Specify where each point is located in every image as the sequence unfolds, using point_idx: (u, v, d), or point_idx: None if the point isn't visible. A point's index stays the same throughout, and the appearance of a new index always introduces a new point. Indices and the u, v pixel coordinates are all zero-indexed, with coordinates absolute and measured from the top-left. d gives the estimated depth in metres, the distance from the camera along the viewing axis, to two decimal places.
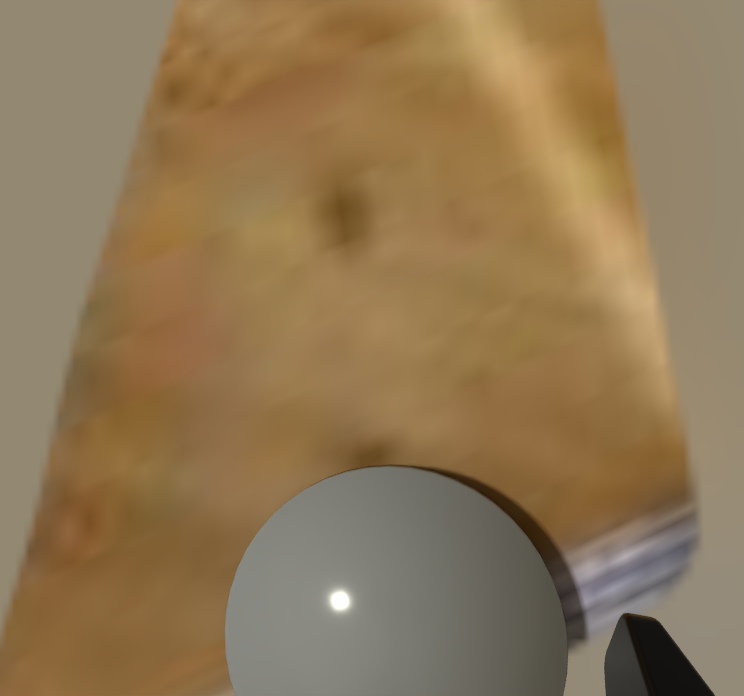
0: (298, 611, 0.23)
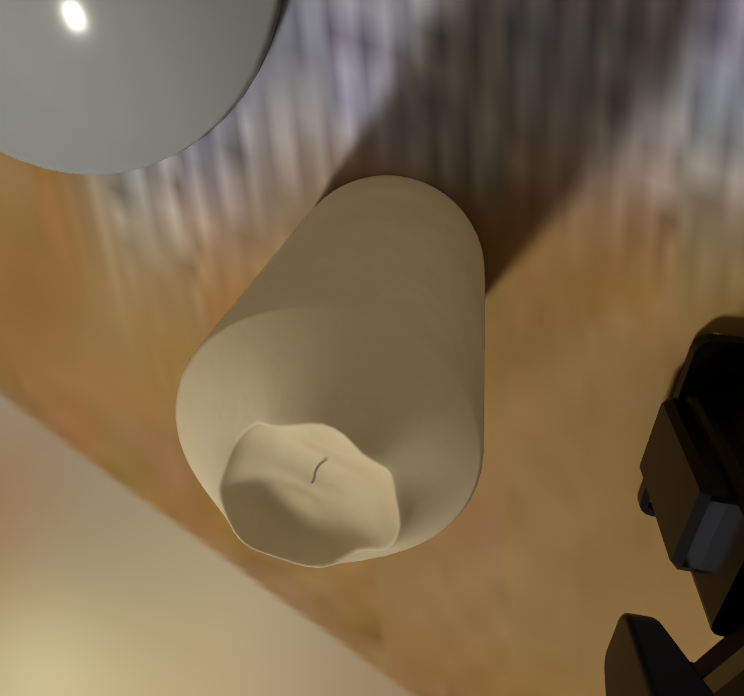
0: None
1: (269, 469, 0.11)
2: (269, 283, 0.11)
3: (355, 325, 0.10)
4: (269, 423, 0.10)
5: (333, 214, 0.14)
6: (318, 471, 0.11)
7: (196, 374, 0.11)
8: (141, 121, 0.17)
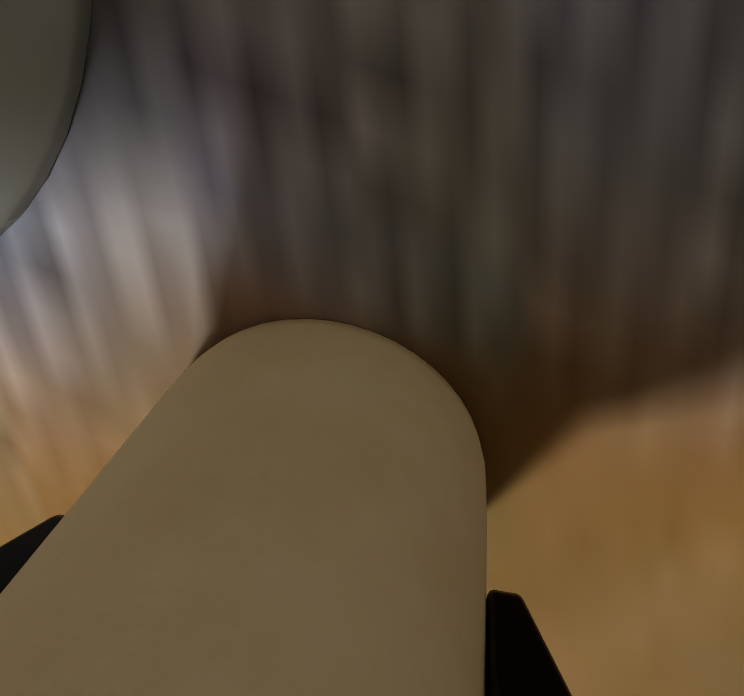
0: None
1: None
2: None
3: None
4: None
5: (161, 465, 0.07)
6: None
7: None
8: None
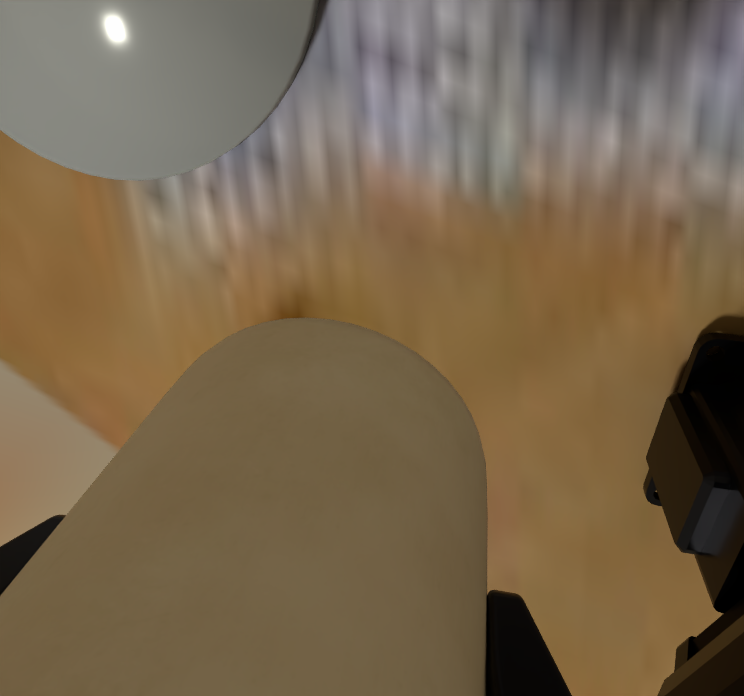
0: (27, 51, 0.17)
1: None
2: None
3: None
4: None
5: (164, 463, 0.07)
6: None
7: None
8: (181, 131, 0.18)
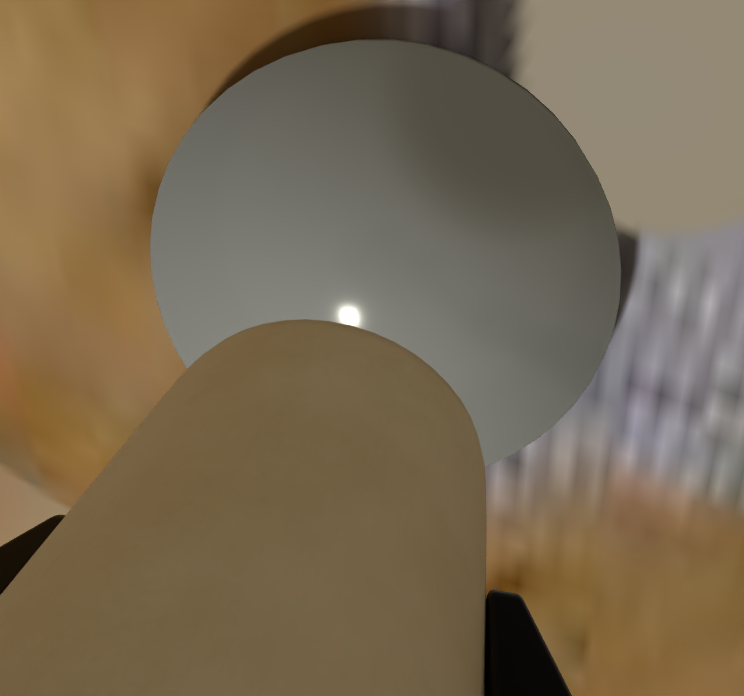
0: None
1: None
2: None
3: None
4: None
5: (162, 466, 0.07)
6: None
7: None
8: None
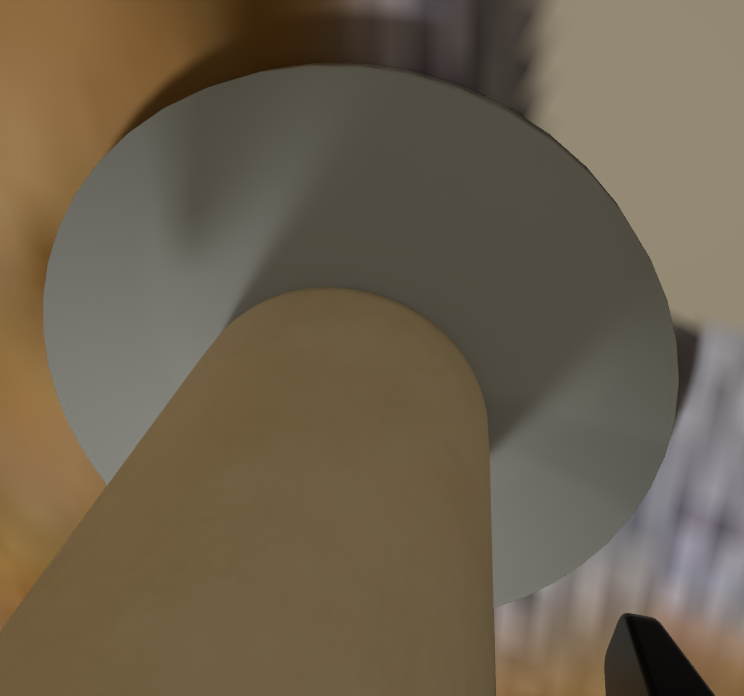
0: None
1: None
2: None
3: None
4: None
5: (218, 405, 0.08)
6: None
7: None
8: None
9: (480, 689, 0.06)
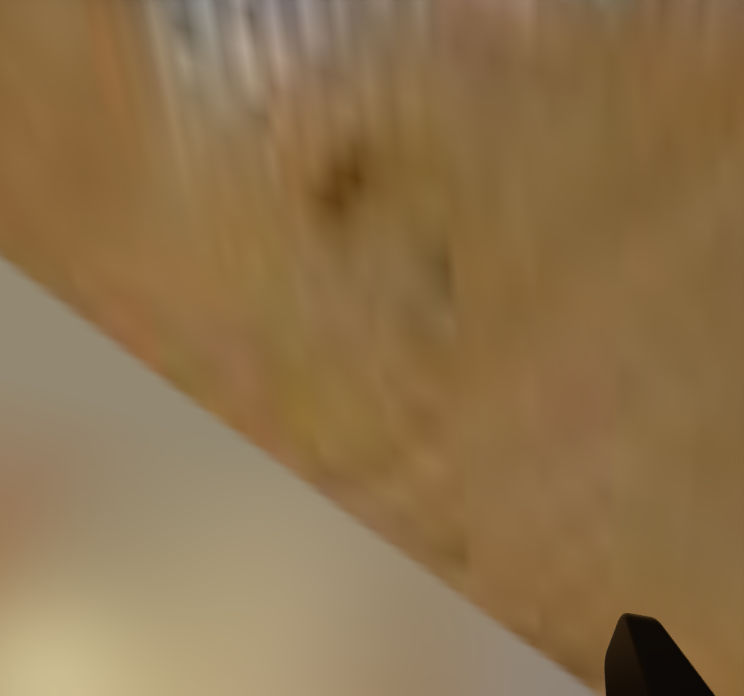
0: None
1: None
2: None
3: None
4: None
5: None
6: None
7: None
8: None
9: None
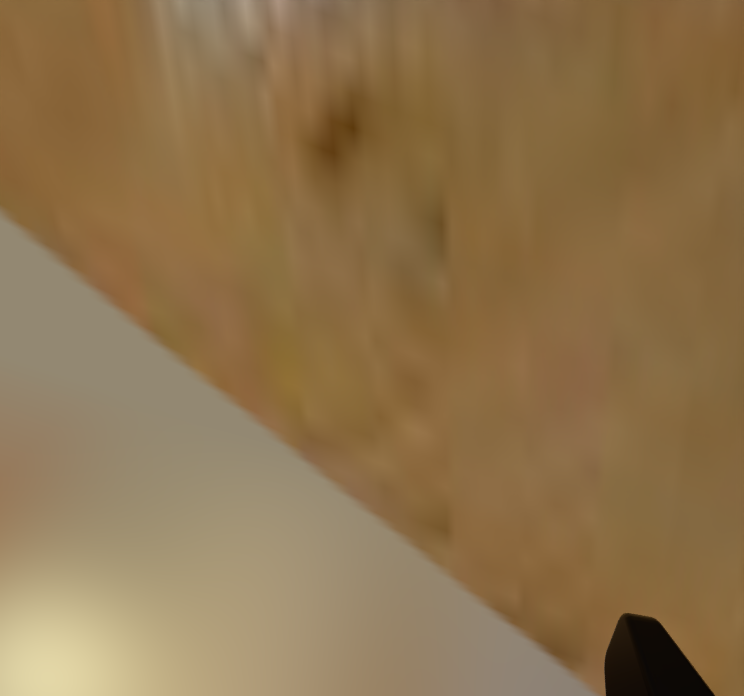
0: None
1: None
2: None
3: None
4: None
5: None
6: None
7: None
8: None
9: None
